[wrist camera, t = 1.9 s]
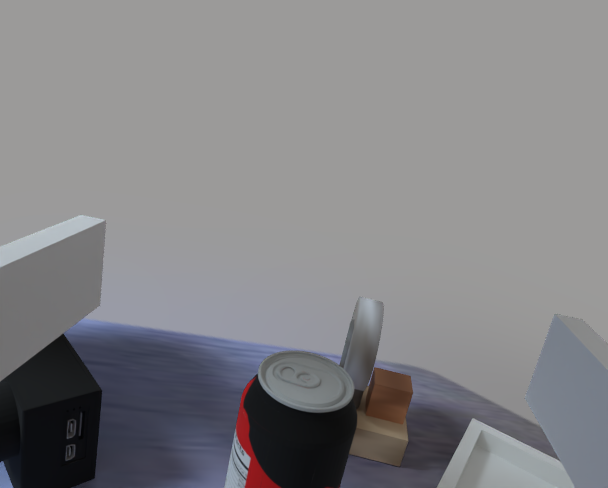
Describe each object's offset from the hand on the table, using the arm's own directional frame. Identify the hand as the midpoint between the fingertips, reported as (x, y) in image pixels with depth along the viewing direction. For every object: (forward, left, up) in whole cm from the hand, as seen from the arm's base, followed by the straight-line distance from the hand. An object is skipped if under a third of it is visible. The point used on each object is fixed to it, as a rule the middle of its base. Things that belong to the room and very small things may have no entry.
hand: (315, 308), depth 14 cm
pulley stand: (-6, +22, -20) cm, 30 cm away
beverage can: (-4, +9, -21) cm, 23 cm away
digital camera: (-21, +4, -21) cm, 30 cm away
